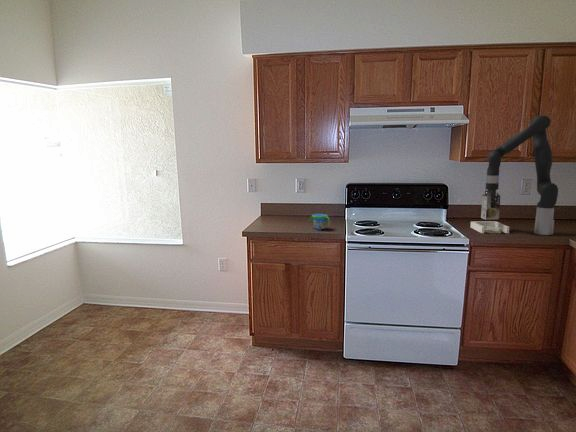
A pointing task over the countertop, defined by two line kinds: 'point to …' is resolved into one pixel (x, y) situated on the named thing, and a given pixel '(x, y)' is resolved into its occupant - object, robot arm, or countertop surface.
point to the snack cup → (319, 221)
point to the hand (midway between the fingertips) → (490, 207)
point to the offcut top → (494, 228)
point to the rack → (481, 225)
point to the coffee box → (489, 208)
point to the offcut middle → (491, 231)
